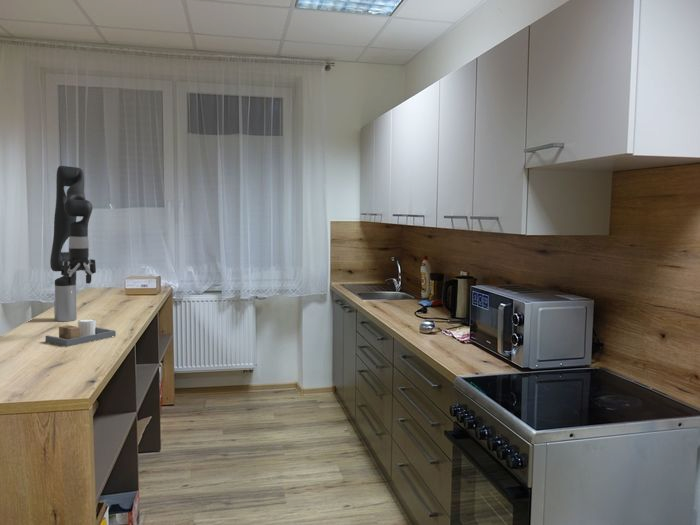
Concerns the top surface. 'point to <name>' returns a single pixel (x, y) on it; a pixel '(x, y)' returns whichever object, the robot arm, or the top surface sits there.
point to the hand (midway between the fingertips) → (78, 284)
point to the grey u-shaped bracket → (74, 341)
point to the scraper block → (69, 332)
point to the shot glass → (87, 327)
